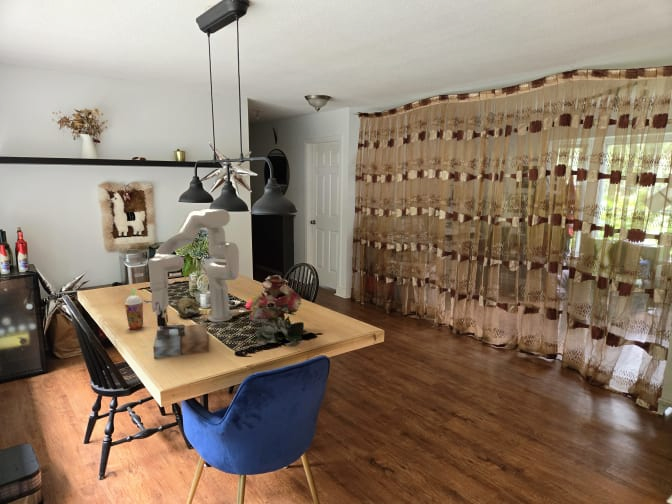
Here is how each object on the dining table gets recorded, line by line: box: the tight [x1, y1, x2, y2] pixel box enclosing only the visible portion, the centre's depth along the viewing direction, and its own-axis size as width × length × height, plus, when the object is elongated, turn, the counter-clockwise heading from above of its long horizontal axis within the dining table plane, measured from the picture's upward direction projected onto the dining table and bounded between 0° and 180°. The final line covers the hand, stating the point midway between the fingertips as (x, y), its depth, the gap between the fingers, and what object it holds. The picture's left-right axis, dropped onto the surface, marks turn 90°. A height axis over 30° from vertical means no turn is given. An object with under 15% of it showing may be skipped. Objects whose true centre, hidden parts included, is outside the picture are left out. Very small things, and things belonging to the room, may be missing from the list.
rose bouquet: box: [248, 274, 305, 347], centre depth 200 cm, size 26×29×30 cm
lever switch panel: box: [152, 323, 209, 359], centre depth 191 cm, size 22×24×9 cm
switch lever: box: [158, 312, 186, 330], centre depth 190 cm, size 11×4×7 cm, turn 94°
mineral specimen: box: [175, 297, 201, 318], centre depth 234 cm, size 14×13×10 cm
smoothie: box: [124, 289, 144, 330], centre depth 214 cm, size 8×8×20 cm
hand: (162, 323), depth 190 cm, fingers closed on switch lever, 3 cm apart
